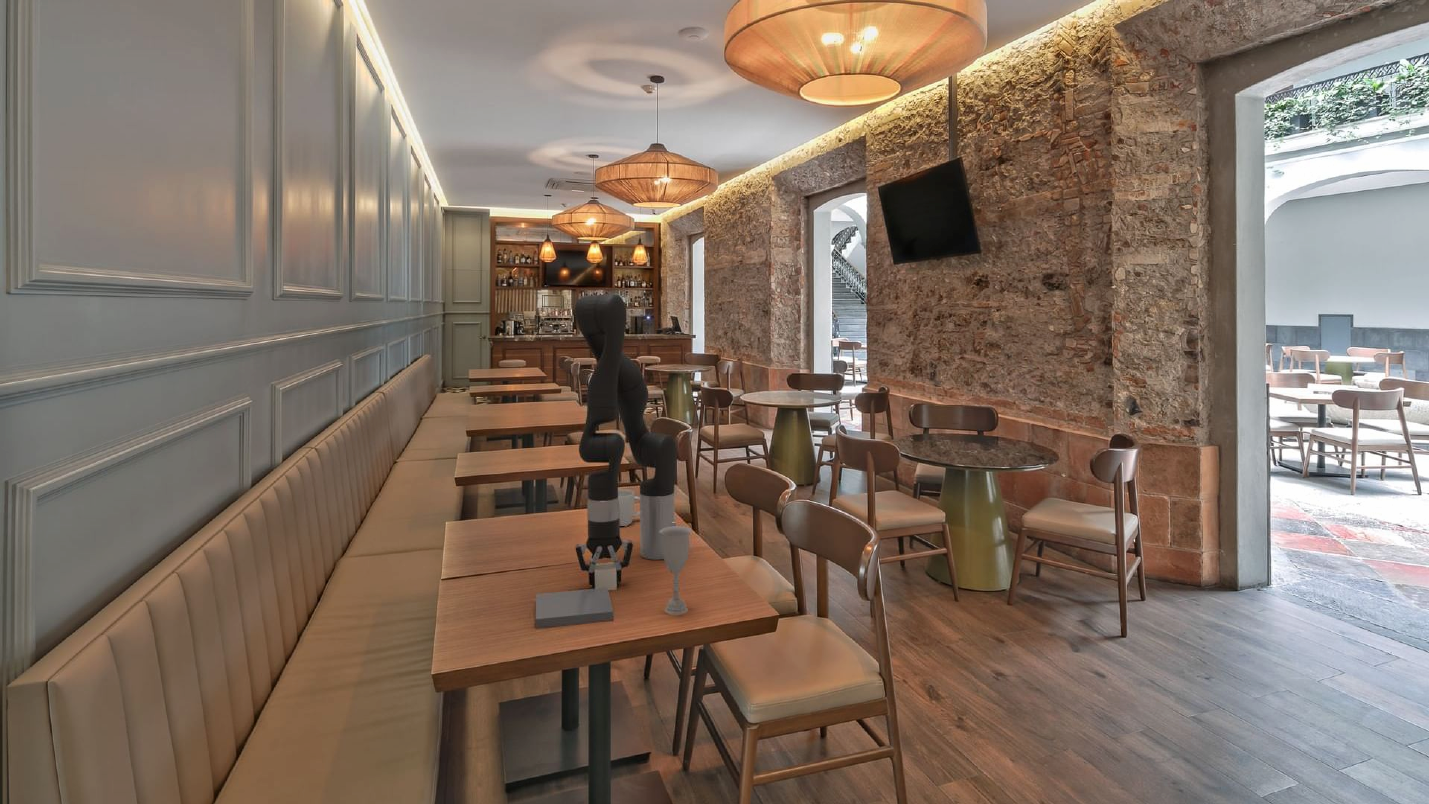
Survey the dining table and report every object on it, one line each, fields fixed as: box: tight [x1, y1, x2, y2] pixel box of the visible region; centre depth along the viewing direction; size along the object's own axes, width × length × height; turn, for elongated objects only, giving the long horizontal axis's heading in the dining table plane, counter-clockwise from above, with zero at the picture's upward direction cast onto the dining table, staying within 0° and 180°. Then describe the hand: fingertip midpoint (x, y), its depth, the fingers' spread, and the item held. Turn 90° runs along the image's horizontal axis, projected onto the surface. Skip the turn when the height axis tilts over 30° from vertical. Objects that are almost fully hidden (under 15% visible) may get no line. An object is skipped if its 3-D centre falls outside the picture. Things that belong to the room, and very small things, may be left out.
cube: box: [594, 561, 618, 591], centre depth 171 cm, size 5×5×5 cm
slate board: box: [535, 588, 614, 629], centre depth 157 cm, size 16×14×2 cm
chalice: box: [659, 525, 692, 616], centre depth 157 cm, size 7×7×18 cm
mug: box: [618, 489, 640, 527], centre depth 224 cm, size 13×9×10 cm
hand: (605, 584), depth 172 cm, fingers closed on cube, 5 cm apart
